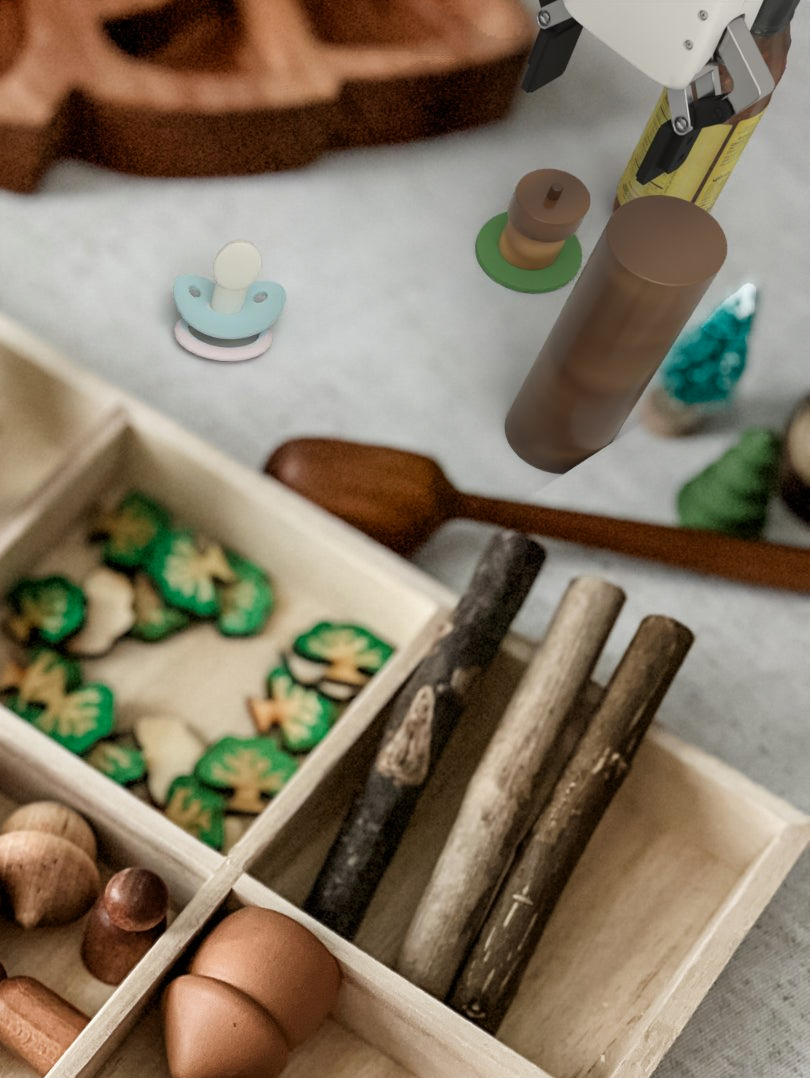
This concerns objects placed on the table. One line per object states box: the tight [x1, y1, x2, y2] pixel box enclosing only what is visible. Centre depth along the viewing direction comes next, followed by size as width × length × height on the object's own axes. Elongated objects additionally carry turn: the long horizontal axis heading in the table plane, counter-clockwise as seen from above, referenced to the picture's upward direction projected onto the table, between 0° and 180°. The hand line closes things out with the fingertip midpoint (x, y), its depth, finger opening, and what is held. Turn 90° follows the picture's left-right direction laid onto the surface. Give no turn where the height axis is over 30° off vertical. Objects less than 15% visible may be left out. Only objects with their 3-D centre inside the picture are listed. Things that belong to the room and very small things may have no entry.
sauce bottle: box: [612, 0, 801, 214], centre depth 106 cm, size 7×6×20 cm
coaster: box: [474, 211, 583, 294], centre depth 114 cm, size 7×7×1 cm
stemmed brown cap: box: [499, 168, 591, 270], centre depth 111 cm, size 5×5×5 cm
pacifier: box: [172, 239, 287, 362], centre depth 109 cm, size 7×6×6 cm
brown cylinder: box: [504, 195, 728, 474], centre depth 101 cm, size 7×7×16 cm
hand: (597, 126), depth 104 cm, fingers open, 9 cm apart
